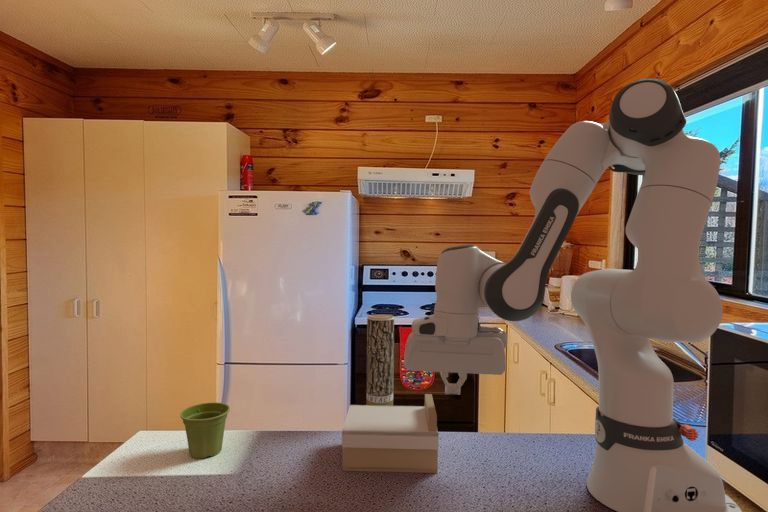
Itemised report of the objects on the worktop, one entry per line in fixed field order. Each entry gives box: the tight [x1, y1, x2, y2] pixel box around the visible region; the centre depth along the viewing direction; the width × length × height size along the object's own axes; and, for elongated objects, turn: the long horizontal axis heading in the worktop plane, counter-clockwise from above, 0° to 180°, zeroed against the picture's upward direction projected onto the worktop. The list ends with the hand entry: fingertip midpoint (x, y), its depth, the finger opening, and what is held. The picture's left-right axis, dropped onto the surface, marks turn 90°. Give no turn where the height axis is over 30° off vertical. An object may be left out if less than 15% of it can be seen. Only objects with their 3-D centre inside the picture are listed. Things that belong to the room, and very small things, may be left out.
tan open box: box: [341, 447, 439, 474], centre depth 88 cm, size 18×12×7 cm, turn 88°
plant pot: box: [179, 401, 231, 460], centre depth 89 cm, size 9×9×9 cm
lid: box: [341, 393, 439, 451], centre depth 88 cm, size 18×14×6 cm
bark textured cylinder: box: [366, 313, 395, 406], centre depth 110 cm, size 7×7×25 cm
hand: (452, 393), depth 88 cm, fingers closed
